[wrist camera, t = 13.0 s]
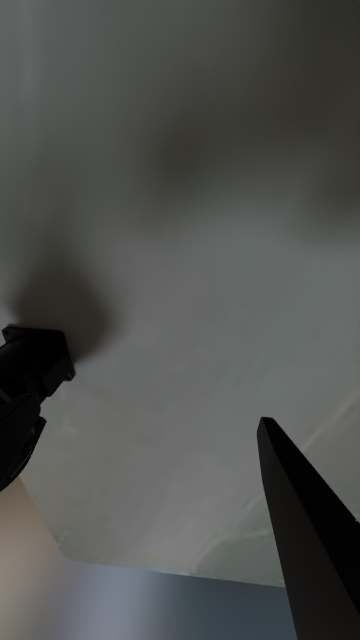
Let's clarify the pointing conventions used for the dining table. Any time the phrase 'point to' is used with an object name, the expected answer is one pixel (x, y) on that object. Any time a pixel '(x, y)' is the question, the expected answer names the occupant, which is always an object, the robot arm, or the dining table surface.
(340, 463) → the dining table surface
